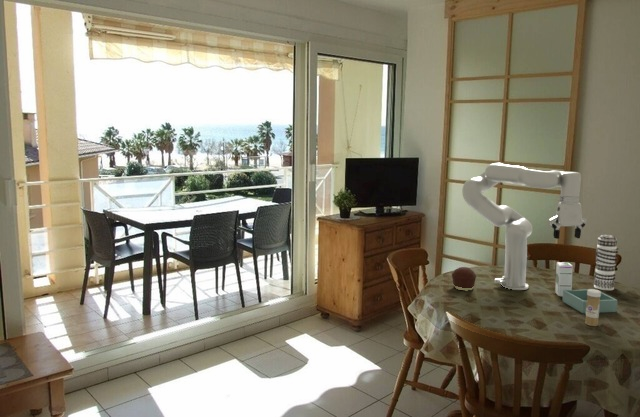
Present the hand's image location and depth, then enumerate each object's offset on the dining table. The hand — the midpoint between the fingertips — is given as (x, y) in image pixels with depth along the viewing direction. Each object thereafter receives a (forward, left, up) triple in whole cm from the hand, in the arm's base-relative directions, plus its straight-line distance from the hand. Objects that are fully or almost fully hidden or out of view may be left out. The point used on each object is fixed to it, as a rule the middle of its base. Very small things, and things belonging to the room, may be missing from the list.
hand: (566, 238), depth 223 cm
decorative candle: (+25, +8, -26) cm, 37 cm away
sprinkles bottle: (-9, -35, -26) cm, 45 cm away
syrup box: (0, 0, -26) cm, 26 cm away
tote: (+2, -16, -26) cm, 31 cm away
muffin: (-41, +14, -26) cm, 51 cm away
